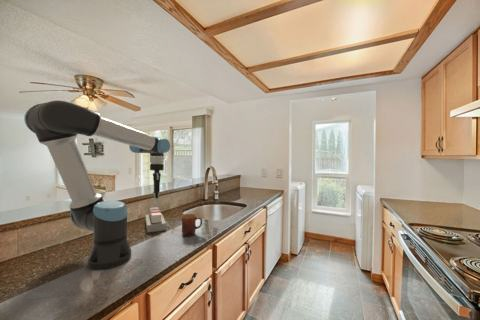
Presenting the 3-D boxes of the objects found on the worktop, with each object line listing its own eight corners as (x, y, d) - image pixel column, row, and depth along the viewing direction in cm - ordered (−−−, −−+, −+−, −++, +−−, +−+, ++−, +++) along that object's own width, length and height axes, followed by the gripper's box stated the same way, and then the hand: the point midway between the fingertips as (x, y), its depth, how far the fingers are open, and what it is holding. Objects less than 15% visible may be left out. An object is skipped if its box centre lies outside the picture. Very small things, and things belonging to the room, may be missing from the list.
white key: (151, 223, 116) (152, 215, 116) (151, 220, 120) (151, 213, 120) (161, 222, 118) (161, 214, 118) (160, 219, 123) (160, 212, 123)
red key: (151, 219, 123) (151, 212, 123) (150, 217, 127) (150, 210, 127) (159, 218, 125) (159, 211, 125) (159, 216, 129) (159, 209, 129)
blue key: (150, 216, 129) (150, 209, 129) (149, 214, 134) (149, 207, 134) (158, 215, 132) (158, 208, 132) (157, 213, 136) (158, 207, 136)
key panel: (147, 232, 114) (147, 225, 114) (145, 220, 134) (145, 214, 134) (166, 229, 118) (166, 223, 118) (161, 219, 139) (161, 213, 139)
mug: (177, 236, 108) (178, 217, 108) (184, 231, 117) (184, 213, 117) (199, 238, 107) (199, 218, 107) (204, 232, 116) (204, 214, 116)
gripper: (165, 163, 115) (164, 205, 115) (162, 163, 127) (161, 200, 127) (150, 163, 112) (150, 206, 112) (149, 163, 123) (148, 201, 123)
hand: (156, 203), depth 119 cm, fingers closed
